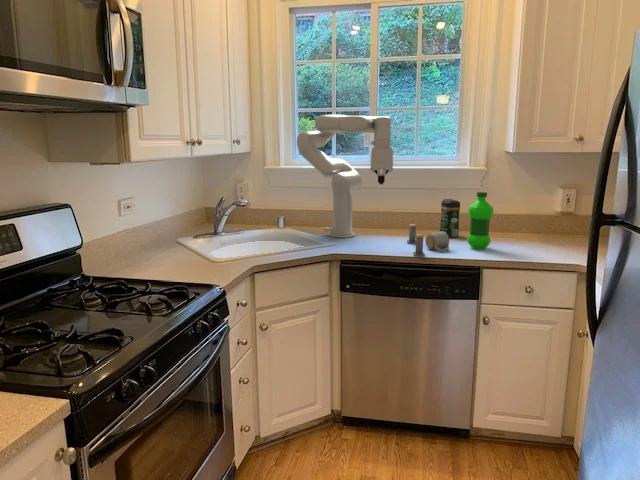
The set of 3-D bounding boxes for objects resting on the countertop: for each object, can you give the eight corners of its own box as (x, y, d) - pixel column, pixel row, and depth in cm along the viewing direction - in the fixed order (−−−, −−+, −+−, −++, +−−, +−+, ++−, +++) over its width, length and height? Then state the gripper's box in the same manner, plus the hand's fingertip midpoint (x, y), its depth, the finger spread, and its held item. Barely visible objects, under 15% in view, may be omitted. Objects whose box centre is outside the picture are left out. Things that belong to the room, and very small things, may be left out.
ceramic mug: (423, 248, 222) (424, 231, 220) (438, 246, 225) (439, 229, 224) (437, 253, 213) (439, 236, 211) (453, 251, 216) (454, 234, 214)
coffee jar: (437, 234, 251) (438, 198, 247) (451, 234, 253) (453, 197, 249) (446, 238, 242) (448, 200, 238) (461, 237, 244) (463, 200, 240)
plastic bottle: (461, 246, 225) (465, 191, 219) (482, 245, 227) (486, 190, 222) (473, 251, 215) (477, 194, 210) (495, 250, 218) (499, 193, 213)
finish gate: (414, 256, 207) (415, 236, 206) (406, 241, 235) (407, 223, 233) (424, 256, 207) (425, 236, 205) (416, 241, 235) (417, 223, 233)
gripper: (365, 144, 224) (365, 185, 228) (399, 144, 223) (398, 185, 227) (365, 143, 231) (364, 183, 235) (397, 143, 230) (396, 183, 234)
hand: (381, 184), depth 231 cm, fingers closed
